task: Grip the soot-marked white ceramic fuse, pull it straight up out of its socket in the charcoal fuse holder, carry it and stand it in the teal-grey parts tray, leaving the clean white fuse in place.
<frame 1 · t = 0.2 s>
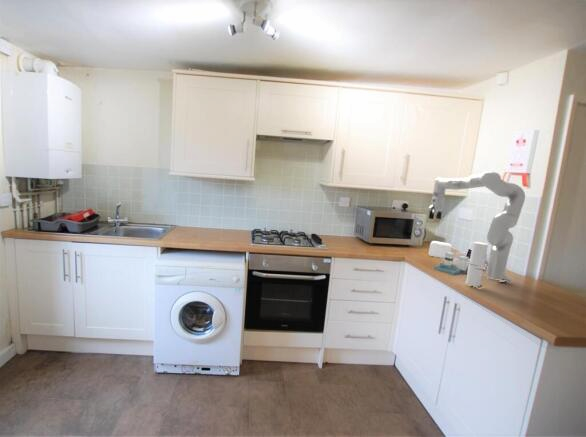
hand: (434, 218, 219), 31 cm above the countertop, tool pointing down, fingers open, 9 cm apart
parts tray: (446, 272, 193), on the countertop
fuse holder: (453, 270, 199), on the countertop
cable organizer: (438, 257, 233), on the countertop
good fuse: (461, 271, 195), point 1 cm above the countertop, touching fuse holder
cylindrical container: (472, 285, 172), on the countertop
blown fuse: (447, 267, 202), point 1 cm above the countertop, touching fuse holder
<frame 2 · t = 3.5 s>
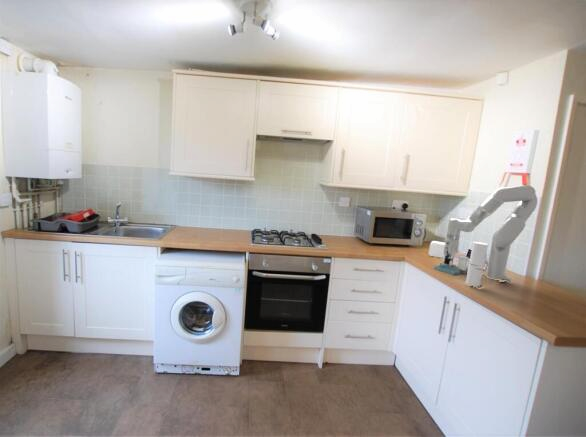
hand: (448, 263, 202), 4 cm above the countertop, tool pointing down, fingers closed on blown fuse, 3 cm apart
blown fuse: (447, 267, 202), point 1 cm above the countertop, touching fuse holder, gripper
everything else where it was.
when the fingers open (5 cm above the countertop, at t = 9.5 s): blown fuse drops 1 cm, resting on parts tray.
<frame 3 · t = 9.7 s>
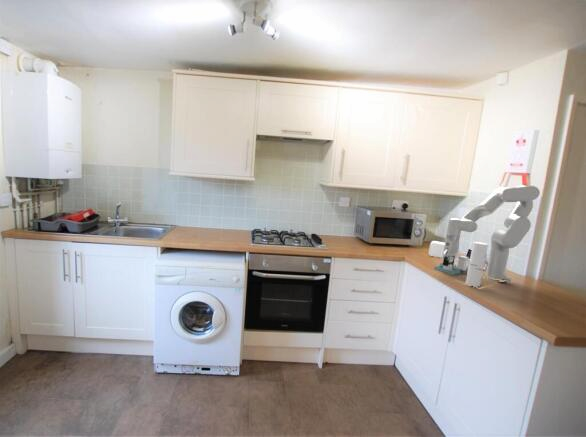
hand: (448, 264, 193), 5 cm above the countertop, tool pointing down, fingers open, 6 cm apart
blown fuse: (446, 271, 193), point 1 cm above the countertop, touching parts tray
everything else where it was.
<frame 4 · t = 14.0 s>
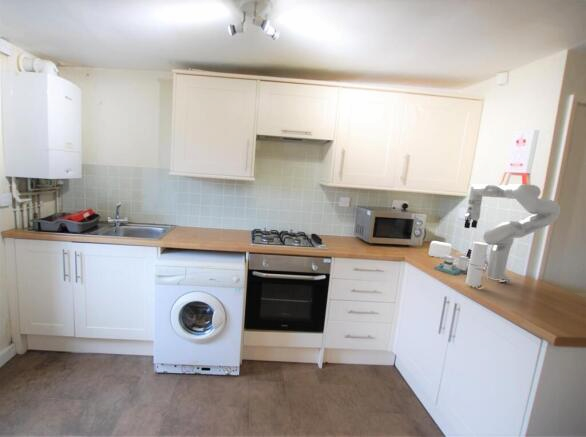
hand: (470, 227, 205), 28 cm above the countertop, tool pointing down, fingers open, 9 cm apart
nothing on the countertop moved.
at the end: blown fuse inside the target area on the parts tray (0.0 cm from its centre), point 0.6 cm above the parts tray's base; blown fuse tilted 0°; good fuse moved 0.0 cm from its start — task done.
